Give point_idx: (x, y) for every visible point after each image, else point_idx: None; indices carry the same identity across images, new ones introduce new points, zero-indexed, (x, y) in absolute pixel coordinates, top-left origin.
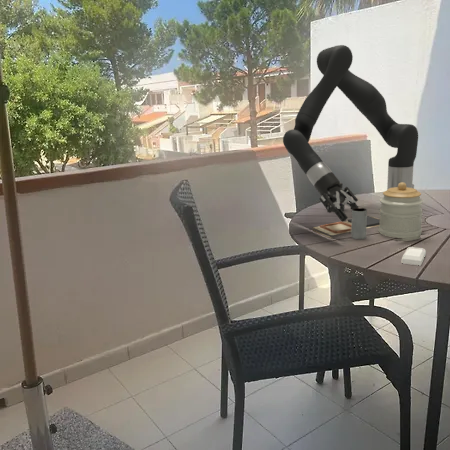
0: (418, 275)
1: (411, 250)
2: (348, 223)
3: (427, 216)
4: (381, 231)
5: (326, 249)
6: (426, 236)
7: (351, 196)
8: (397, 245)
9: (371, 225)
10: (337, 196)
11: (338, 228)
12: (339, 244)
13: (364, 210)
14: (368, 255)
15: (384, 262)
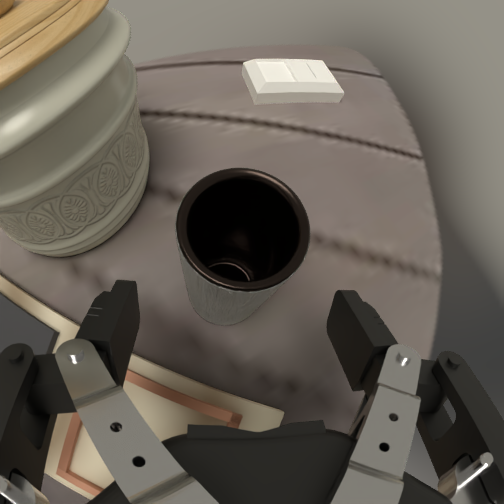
0: (368, 74)
1: (281, 78)
2: None
3: None
4: (121, 211)
5: (403, 333)
6: None
7: (19, 416)
8: (195, 143)
9: (26, 312)
10: (384, 457)
11: None
12: (326, 331)
13: (198, 203)
14: (354, 182)
15: (365, 133)
